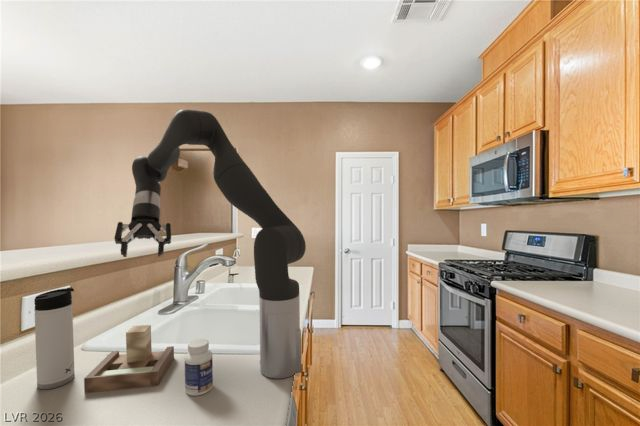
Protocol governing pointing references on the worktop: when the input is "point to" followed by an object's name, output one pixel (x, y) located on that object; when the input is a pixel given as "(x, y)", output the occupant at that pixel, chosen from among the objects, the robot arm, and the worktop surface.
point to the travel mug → (54, 338)
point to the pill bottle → (198, 368)
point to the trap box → (128, 371)
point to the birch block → (138, 343)
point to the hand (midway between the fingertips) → (142, 255)
